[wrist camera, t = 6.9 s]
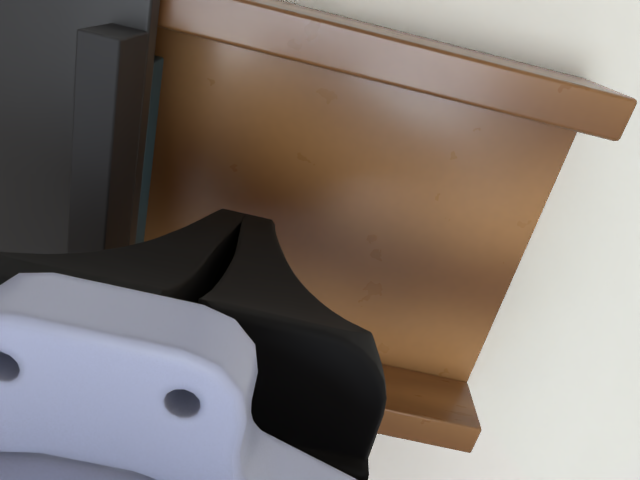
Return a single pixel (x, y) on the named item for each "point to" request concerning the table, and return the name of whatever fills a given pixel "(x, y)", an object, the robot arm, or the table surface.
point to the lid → (73, 122)
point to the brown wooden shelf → (371, 175)
